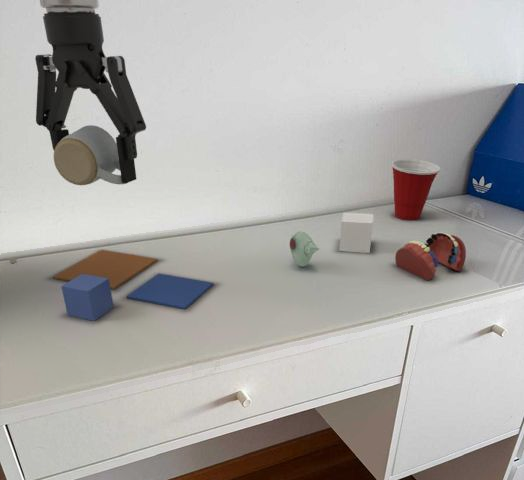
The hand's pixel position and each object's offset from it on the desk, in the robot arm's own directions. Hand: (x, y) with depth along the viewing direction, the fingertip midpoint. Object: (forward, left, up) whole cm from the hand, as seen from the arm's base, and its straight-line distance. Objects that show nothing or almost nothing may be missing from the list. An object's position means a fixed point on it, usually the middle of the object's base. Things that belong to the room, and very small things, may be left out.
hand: (98, 177), depth 81 cm
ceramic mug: (0, 0, -1) cm, 1 cm away
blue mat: (+11, 0, -18) cm, 21 cm away
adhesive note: (+35, +32, -18) cm, 51 cm away
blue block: (+3, -11, -18) cm, 21 cm away
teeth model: (+50, +26, -18) cm, 59 cm away
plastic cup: (+42, +56, -18) cm, 72 cm away
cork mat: (-5, +4, -18) cm, 19 cm away
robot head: (+28, +18, -18) cm, 38 cm away
